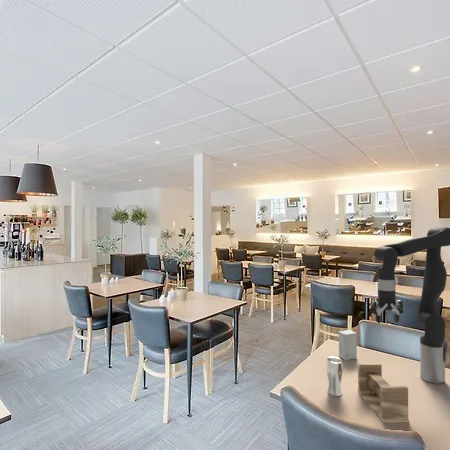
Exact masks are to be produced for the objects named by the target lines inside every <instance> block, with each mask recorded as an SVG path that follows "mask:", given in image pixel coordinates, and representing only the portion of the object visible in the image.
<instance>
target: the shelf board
mask: <svg viewBox="0 0 450 450" xmlns="http://www.w3.org/2000/svg"><path fill="white" fill-rule="evenodd" d="M367 384H368V385H369V386H370V387H371V389H372V390H373V391H374V392H375V393H376V394H377V395H378V396H379V397H380V398H381V395H380V386H391V384H390V383H388V381H386V380H385V379H384V378H383V376H382V377H381V376H380V375H379V374H378V373H367Z"/></svg>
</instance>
